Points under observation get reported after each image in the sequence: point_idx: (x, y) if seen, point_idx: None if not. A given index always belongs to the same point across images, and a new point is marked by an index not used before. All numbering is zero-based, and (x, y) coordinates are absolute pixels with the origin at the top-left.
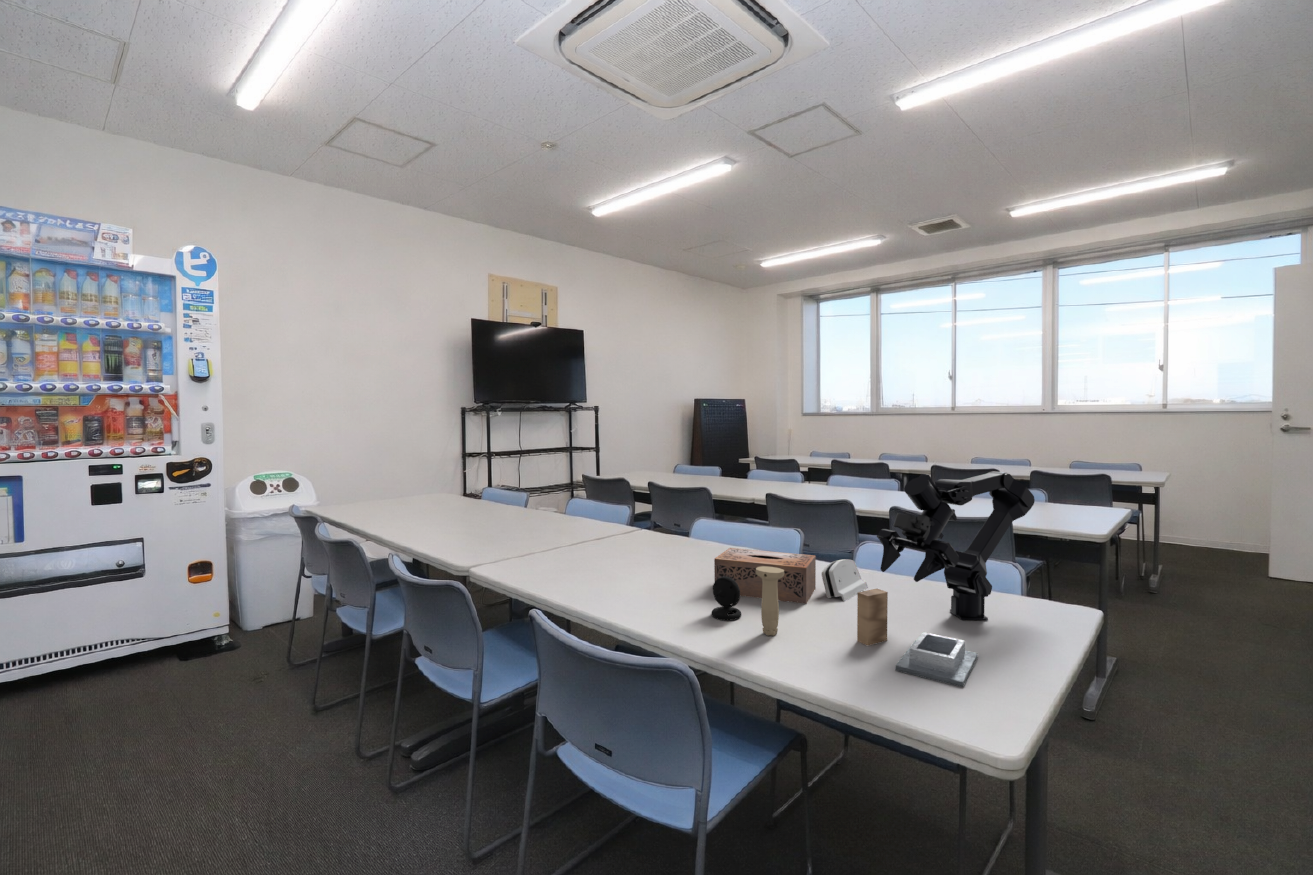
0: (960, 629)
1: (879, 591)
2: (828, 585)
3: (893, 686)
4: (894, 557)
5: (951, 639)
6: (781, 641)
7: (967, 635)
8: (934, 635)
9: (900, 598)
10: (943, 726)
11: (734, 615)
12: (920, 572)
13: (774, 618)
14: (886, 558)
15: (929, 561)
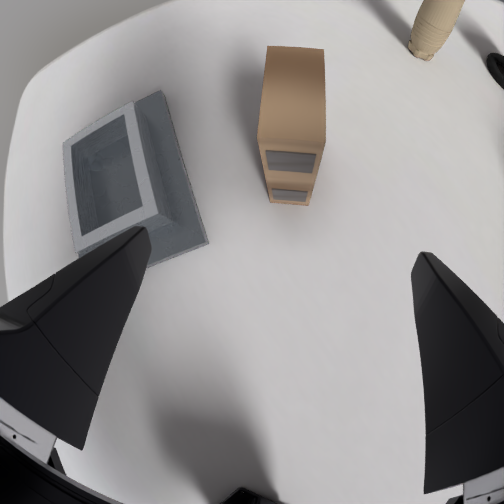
0: (206, 435)
1: (283, 114)
2: None
3: (141, 61)
4: (440, 424)
5: (93, 230)
6: (380, 39)
7: (172, 409)
8: (127, 216)
9: (421, 488)
10: (71, 60)
11: (491, 63)
12: (92, 251)
13: (414, 22)
14: (460, 317)
15: (8, 304)
